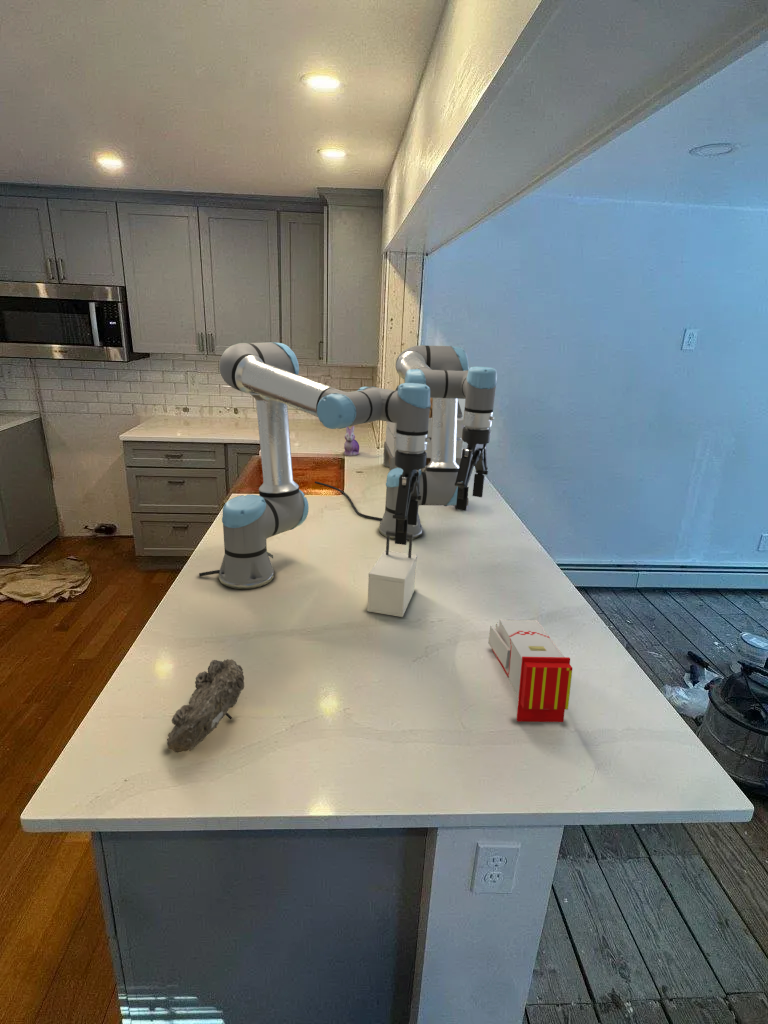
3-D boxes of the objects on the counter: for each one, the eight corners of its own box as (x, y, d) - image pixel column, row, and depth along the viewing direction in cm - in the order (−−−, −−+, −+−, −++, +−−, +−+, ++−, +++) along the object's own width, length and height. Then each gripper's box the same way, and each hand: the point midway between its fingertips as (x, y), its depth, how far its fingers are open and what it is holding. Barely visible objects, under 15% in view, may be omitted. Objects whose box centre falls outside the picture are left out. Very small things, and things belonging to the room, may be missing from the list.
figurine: (347, 456, 298) (347, 428, 293) (339, 452, 307) (339, 424, 302) (363, 455, 303) (364, 427, 298) (355, 450, 311) (356, 423, 306)
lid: (383, 553, 159) (385, 526, 157) (416, 558, 157) (418, 531, 154) (368, 577, 145) (369, 548, 142) (404, 583, 143) (406, 553, 140)
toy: (535, 605, 135) (581, 664, 106) (530, 657, 138) (574, 728, 108) (484, 604, 135) (517, 662, 105) (480, 656, 137) (511, 727, 108)
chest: (381, 585, 162) (383, 554, 159) (414, 590, 160) (416, 559, 157) (367, 611, 148) (368, 577, 145) (402, 617, 146) (404, 583, 143)
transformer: (382, 463, 289) (386, 382, 275) (445, 464, 293) (451, 384, 279) (390, 482, 257) (394, 392, 243) (460, 483, 261) (468, 394, 247)
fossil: (192, 660, 117) (244, 628, 112) (224, 691, 120) (276, 661, 115) (142, 746, 98) (202, 712, 93) (182, 779, 101) (242, 748, 96)
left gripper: (417, 464, 122) (411, 555, 129) (434, 441, 145) (428, 518, 152) (383, 461, 124) (379, 550, 131) (405, 438, 146) (401, 515, 154)
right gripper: (475, 437, 138) (467, 518, 146) (503, 421, 159) (495, 493, 167) (446, 433, 141) (440, 512, 149) (478, 418, 163) (471, 489, 170)
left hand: (406, 533), depth 141 cm, fingers open, 13 cm apart
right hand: (469, 502), depth 158 cm, fingers open, 13 cm apart
